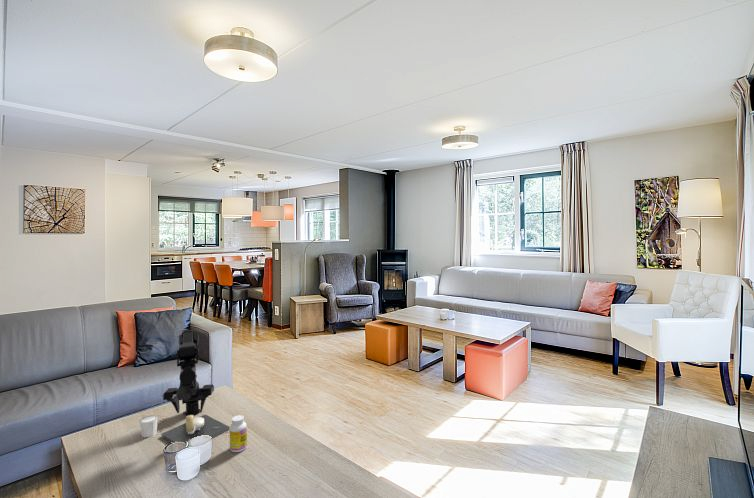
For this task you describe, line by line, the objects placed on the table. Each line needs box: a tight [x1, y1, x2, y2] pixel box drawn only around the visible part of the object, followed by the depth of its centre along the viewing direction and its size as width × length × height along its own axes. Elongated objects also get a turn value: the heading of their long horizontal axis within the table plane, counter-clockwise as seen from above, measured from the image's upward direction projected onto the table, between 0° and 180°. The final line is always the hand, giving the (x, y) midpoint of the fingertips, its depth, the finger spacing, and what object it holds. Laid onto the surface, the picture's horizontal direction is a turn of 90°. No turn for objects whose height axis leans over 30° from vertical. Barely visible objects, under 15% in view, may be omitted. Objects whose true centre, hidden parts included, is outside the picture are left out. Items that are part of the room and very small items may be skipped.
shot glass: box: [139, 414, 158, 439], centre depth 162 cm, size 7×7×7 cm
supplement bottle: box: [228, 414, 248, 453], centre depth 150 cm, size 7×7×13 cm
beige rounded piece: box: [185, 415, 204, 434], centre depth 160 cm, size 12×7×8 cm, turn 10°
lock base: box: [161, 414, 230, 444], centre depth 162 cm, size 20×20×3 cm
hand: (190, 411), depth 155 cm, fingers open, 9 cm apart
